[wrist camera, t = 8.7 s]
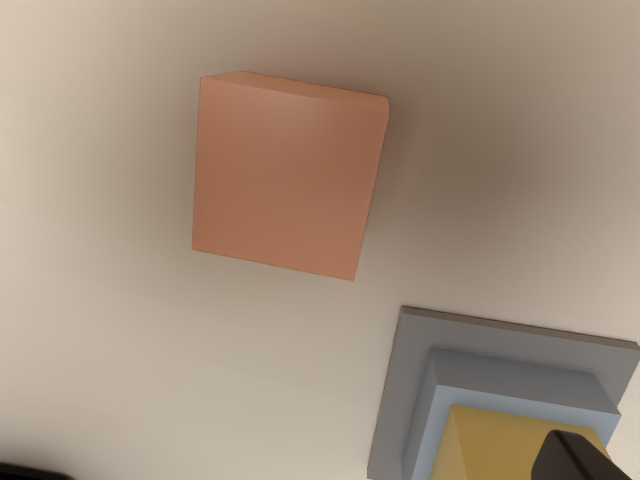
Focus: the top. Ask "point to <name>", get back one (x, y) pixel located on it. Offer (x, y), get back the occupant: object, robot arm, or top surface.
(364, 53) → the top surface
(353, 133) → the terracotta brick
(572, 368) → the baseplate
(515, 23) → the top surface
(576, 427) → the mustard brick
